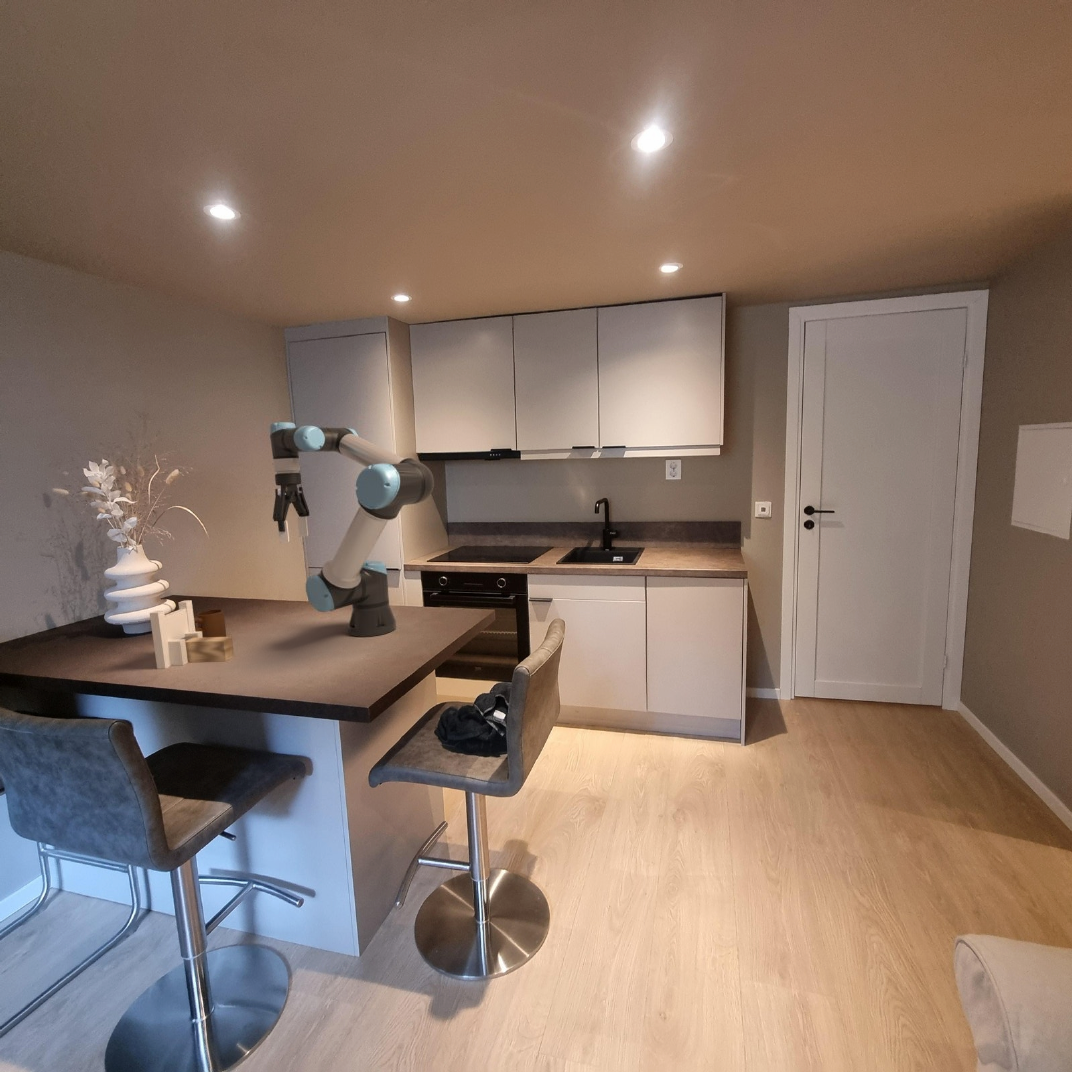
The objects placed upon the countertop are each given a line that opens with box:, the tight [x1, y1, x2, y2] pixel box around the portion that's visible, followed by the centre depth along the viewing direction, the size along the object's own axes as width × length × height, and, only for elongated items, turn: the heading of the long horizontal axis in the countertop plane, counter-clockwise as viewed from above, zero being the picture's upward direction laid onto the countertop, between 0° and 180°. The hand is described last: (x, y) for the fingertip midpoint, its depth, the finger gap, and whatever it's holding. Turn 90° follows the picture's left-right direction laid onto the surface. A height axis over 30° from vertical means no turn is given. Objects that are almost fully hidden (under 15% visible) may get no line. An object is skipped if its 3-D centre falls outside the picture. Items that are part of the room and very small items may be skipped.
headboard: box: [149, 599, 203, 670], centre depth 164 cm, size 6×14×16 cm, turn 177°
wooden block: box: [182, 636, 235, 663], centre depth 164 cm, size 14×4×6 cm, turn 87°
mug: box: [194, 608, 227, 637], centre depth 180 cm, size 12×8×9 cm, turn 159°
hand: (294, 539), depth 181 cm, fingers open, 13 cm apart
